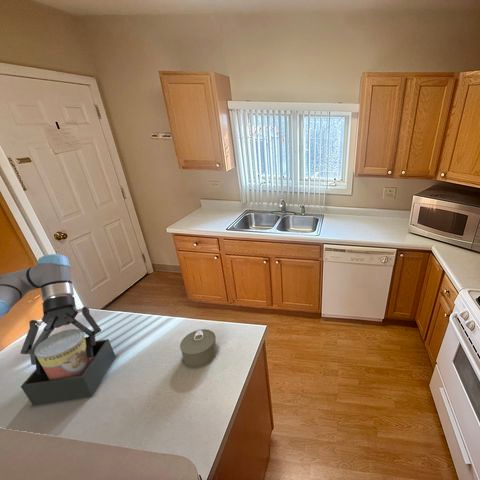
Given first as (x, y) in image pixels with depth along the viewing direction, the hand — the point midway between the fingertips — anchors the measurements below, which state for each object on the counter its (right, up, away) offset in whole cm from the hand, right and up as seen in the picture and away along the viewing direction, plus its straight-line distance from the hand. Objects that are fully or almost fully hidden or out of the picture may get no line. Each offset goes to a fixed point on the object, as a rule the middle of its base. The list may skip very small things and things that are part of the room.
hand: (66, 365), depth 80 cm
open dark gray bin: (-2, -8, +6) cm, 10 cm away
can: (+34, -5, +17) cm, 39 cm away
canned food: (-2, -3, +4) cm, 6 cm away
